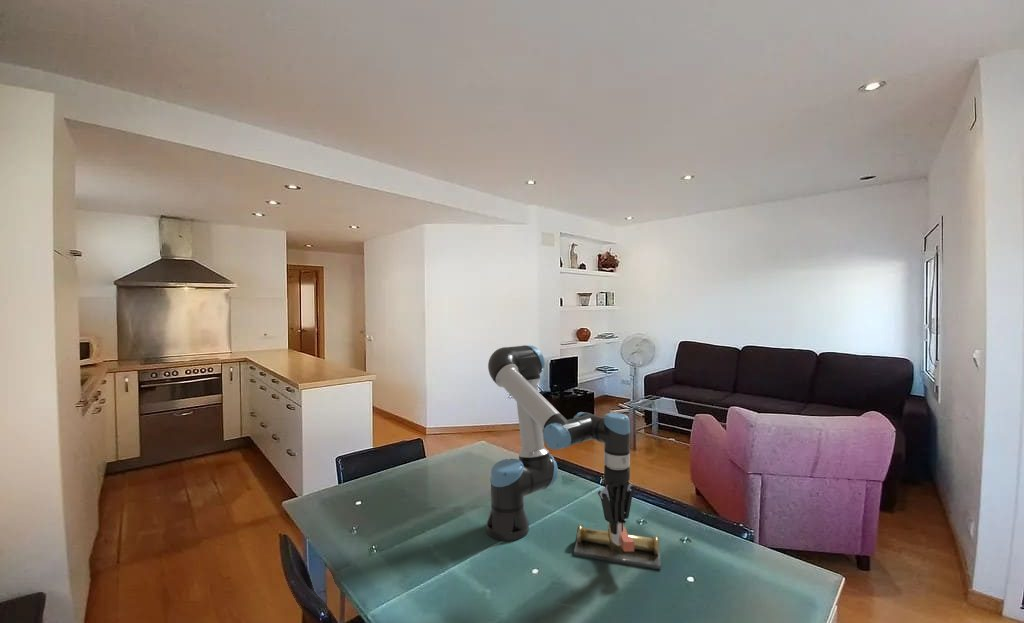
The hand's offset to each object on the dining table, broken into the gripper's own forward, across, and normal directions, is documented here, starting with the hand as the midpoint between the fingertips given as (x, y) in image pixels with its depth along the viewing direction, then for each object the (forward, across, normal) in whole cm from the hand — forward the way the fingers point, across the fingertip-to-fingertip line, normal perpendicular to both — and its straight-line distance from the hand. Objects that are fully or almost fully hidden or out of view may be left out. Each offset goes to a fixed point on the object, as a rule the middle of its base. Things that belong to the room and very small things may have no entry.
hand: (616, 543), depth 125 cm
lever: (0, +4, +2) cm, 4 cm away
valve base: (+7, +6, +7) cm, 11 cm away
